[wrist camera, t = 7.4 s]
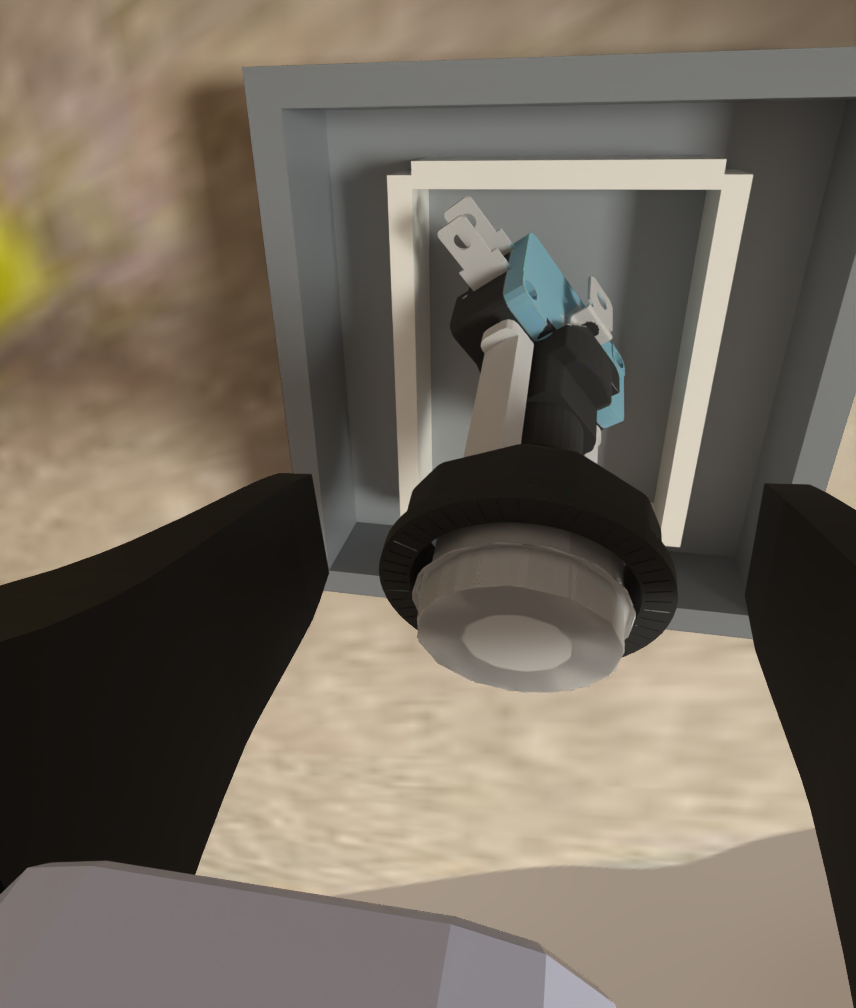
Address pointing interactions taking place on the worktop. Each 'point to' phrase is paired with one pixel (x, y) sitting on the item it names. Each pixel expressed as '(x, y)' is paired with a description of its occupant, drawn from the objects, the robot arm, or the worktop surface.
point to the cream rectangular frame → (569, 172)
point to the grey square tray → (569, 272)
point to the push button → (530, 489)
